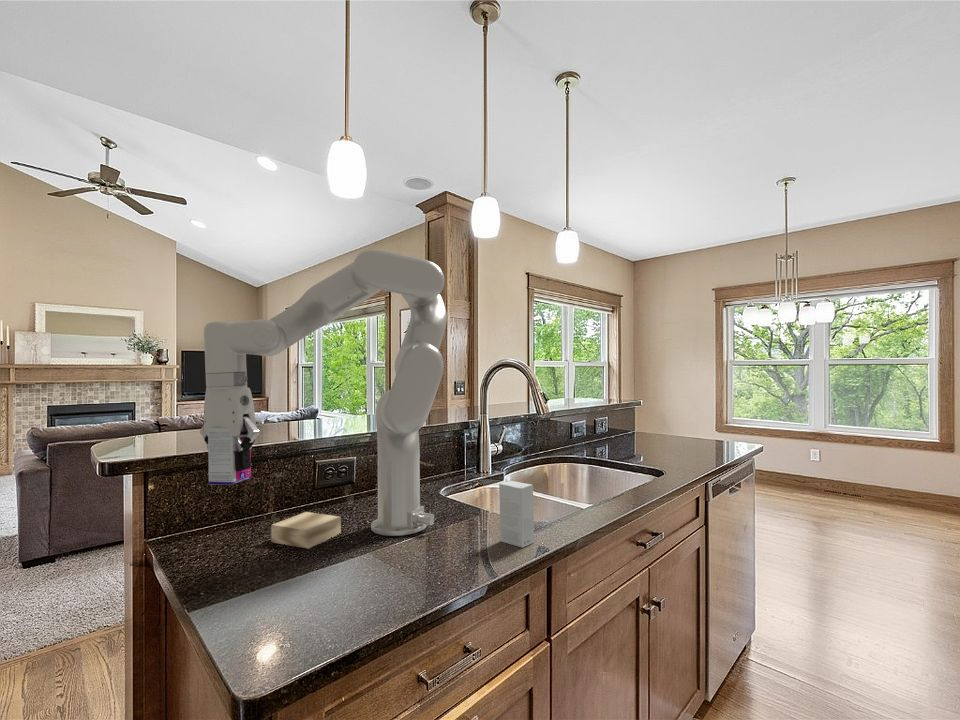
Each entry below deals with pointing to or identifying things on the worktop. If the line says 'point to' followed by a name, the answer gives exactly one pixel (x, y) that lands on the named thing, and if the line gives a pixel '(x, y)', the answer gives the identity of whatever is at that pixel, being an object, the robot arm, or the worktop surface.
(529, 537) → the skincare box
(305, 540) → the oak block
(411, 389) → the robot arm
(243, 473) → the supplement box
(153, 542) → the worktop surface
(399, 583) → the worktop surface
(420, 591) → the worktop surface
